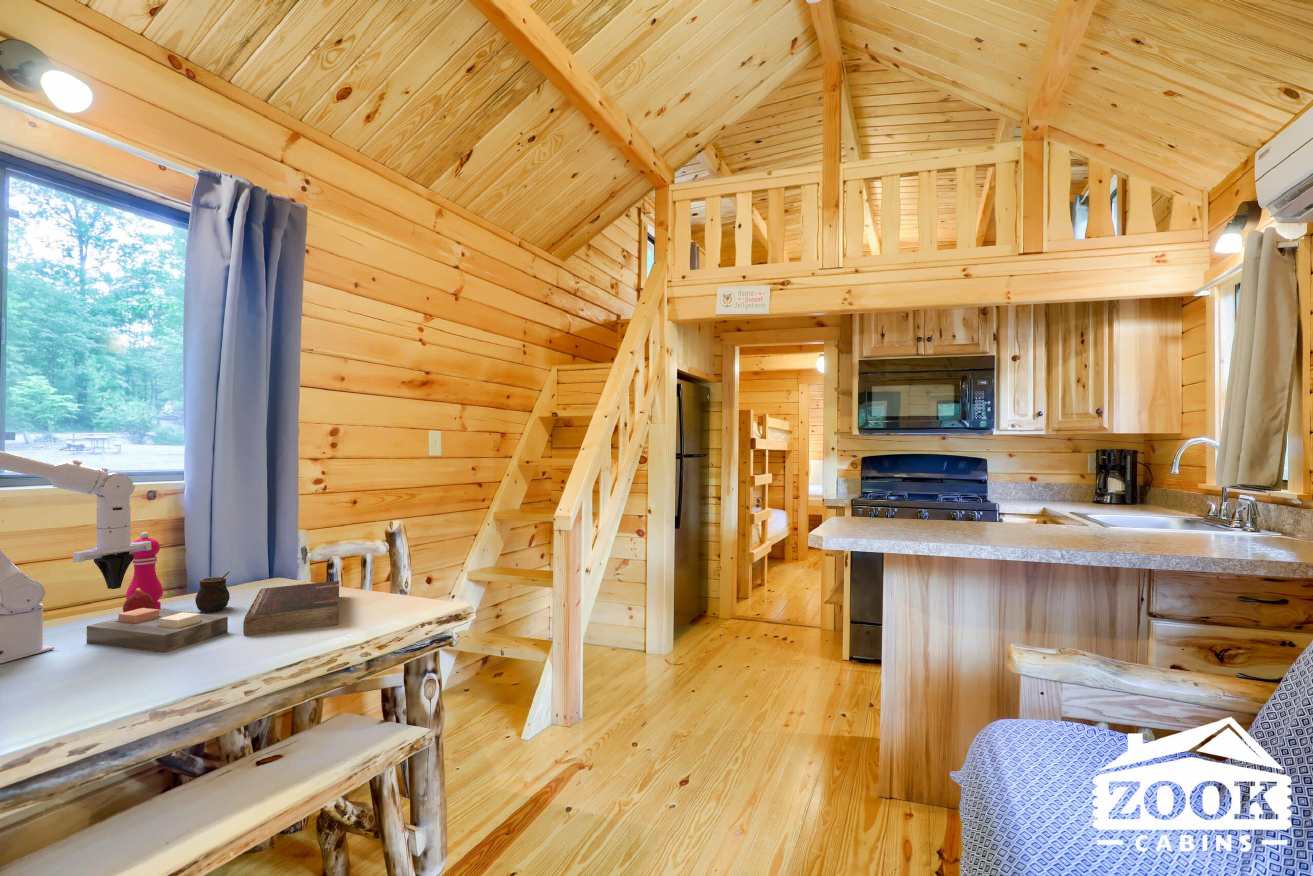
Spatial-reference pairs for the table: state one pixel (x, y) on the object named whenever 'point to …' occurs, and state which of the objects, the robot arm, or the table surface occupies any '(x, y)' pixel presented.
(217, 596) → the mate gourd
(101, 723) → the table surface
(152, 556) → the pepper mill
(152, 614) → the terracotta key
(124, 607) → the onion
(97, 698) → the table surface
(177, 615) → the cream key
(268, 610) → the hardback book
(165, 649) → the key bed
